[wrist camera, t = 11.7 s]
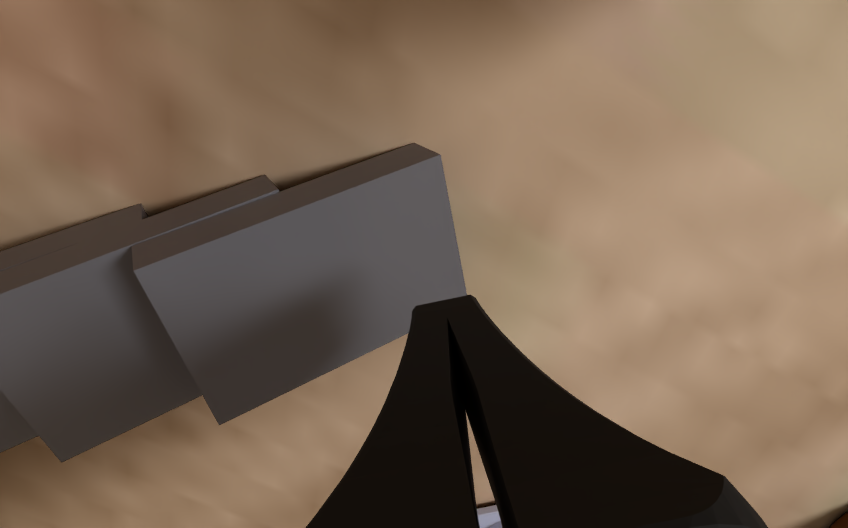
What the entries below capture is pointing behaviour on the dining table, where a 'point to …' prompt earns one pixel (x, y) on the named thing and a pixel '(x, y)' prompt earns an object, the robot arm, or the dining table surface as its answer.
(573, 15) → the dining table surface
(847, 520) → the mug
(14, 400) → the domino
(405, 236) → the domino
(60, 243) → the domino
